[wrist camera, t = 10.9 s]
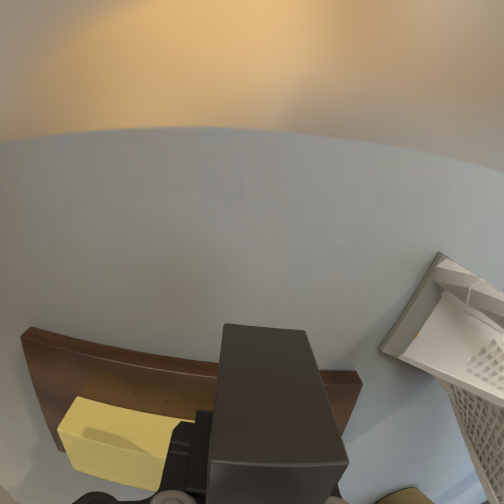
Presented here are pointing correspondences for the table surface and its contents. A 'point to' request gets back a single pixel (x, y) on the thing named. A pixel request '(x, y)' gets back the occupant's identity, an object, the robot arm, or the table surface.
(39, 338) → the board
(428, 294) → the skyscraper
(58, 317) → the table surface
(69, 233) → the table surface
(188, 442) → the robot arm
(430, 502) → the squeeze bottle
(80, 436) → the butter
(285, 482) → the knife
